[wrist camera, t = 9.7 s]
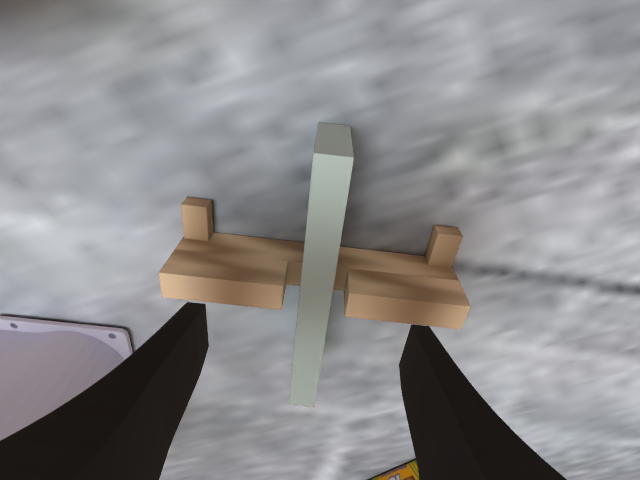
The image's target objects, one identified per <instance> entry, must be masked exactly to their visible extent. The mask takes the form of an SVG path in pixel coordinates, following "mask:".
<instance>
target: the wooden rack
mask: <svg viewBox="0 0 640 480" xmlns="http://www.w3.org/2000/svg"><path fill="white" fill-rule="evenodd" d="M181 208H182V219H183V229H184V237H183V238H182V240H181V241H180V243H179V244H178V246H177V247H176V249H175V250H174V251H173V253H172V254H171V256H170V257H169V259H168V260H167V261H166V263H165V264H164V266H163V267H162V269H161V270H160V271H159V278H160V285H161V292H162V297H167V298H176V299H185V300H195V301H204V302H213V303H223V304H232V305H241V306H250V307H260V308H269V309H278V310H281V309H282V304H283V298H284V293H285V288H286V284H289V285H298V286H300V285H301V275H302V265H303V255H304V245H305V243H303V242H294V241H285V240H276V239H267V238H258V237H249V236H240V235H231V234H222V233H213V216H212V200H210V199H201V198H192V197H187V198H186V199H185V200H184V202H183V203H182V204H181ZM462 237H463V236H462V234H461V233H460V231H459V229H458V228H456V227H448V226H439V225H434V227H433V230H432V233H431V237H430V240H429V243H428V246H427V250H426V253H425V256H419V255H410V254H401V253H392V252H383V251H375V250H366V249H357V248H348V247H340V249H339V255H338V261H337V268H336V274H335V280H334V286H333V289H335V290H344V304H345V317H353V318H362V319H371V320H381V321H390V322H399V323H409V324H418V325H427V326H437V327H446V328H455V329H462V326H463V324H464V322H465V319H466V317H467V314H468V312H469V310H470V307H471V306H470V304H469V302H468V300H467V297H466V295H465V293H464V291H463V289H462V287H461V284H460V282H459V280H458V278H457V276H456V274H455V272H454V269H453V267H452V265H453V262H454V259H455V256H456V253H457V251H458V248H459V245H460V242H461V240H462Z"/></svg>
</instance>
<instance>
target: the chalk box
mask: <svg viewBox="0 0 640 480" xmlns="http://www.w3.org/2000/svg"><path fill="white" fill-rule="evenodd" d="M370 480H419V473H418V467H417V461H416V460H414V461H412V462H410V463H408V464H405V465H403V466H401V467H398V468H396V469H394V470H392V471H389V472H387V473H385V474H382V475H380V476H378V477H375V478H373V479H370Z"/></svg>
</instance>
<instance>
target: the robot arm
mask: <svg viewBox="0 0 640 480" xmlns="http://www.w3.org/2000/svg"><path fill="white" fill-rule="evenodd" d="M208 346H209V344H208V332H207V319H206V306H205V304H200V303H190V302H187V303H186V304H185V305H184V306H183V307H182V308H181V309H180V310H179V311H178V312H177V313H176V314H175V315H174V316H173V317H172V318H171V319H170V320H169V321H168V322H166V323H165V324H164V325H163V326H162V327H161V328H160V329H159V330H158V331H157V332H156V333H155V334H154V335H153V336H152V337H150V338H149V339H148V340H147V341H146V342H145V343H144V344H143V345H142V346H141V347H139V348H138V349H137V350H136V351H135V352H134V353H133V352H132V347H131V343H130V338H129V334H128V332H127V331H126V330H124V329H121V328H113V327H103V326H94V325H84V324H75V323H65V322H56V321H46V320H37V319H27V318H18V317H8V316H0V480H159V478H160V475H161V472H162V469H163V466H164V462H165V459H166V456H167V453H168V450H169V447H170V445H171V442H172V440H173V437H174V435H175V432H176V430H177V428H178V425H179V423H180V421H181V418H182V416H183V414H184V411H185V409H186V407H187V404H188V402H189V400H190V397H191V395H192V393H193V390H194V388H195V386H196V383H197V381H198V378H199V376H200V374H201V370H202V367H203V364H204V360H205V357H206V353H207V350H208ZM399 368H400V380H401V390H402V396H403V401H404V406H405V410H406V415H407V420H408V424H409V429H410V433H411V438H412V443H413V447H414V452H415V456H416V461H417V467H418V473H419V480H567V479H565V478H564V477H563V476H562V475H561V474H559V473H558V472H557V471H556V470H555V469H554V468H552V467H551V466H550V465H549V464H548V463H547V462H545V461H544V460H543V459H542V458H541V457H540V456H539V455H538V454H537V453H536V452H534V451H533V450H532V449H531V448H530V447H529V446H528V445H527V444H526V443H525V442H524V441H523V440H522V439H521V438H520V437H518V436H517V435H516V434H515V433H514V432H513V431H512V430H511V429H510V427H509V426H508V425H507V424H506V423H505V422H504V421H503V420H502V419H501V418H500V417H499V416H498V415H497V414H496V413H495V412H494V411H493V410H492V408H491V407H490V406H489V405H488V404H487V403H486V402H485V400H484V399H483V398H482V397H481V396H480V394H479V393H478V392H477V391H476V390H475V388H474V387H473V386H472V385H471V383H470V382H469V381H468V380H467V378H466V377H465V376H464V374H463V373H462V372H461V370H460V369H459V368H458V366H457V365H456V364H455V362H454V361H453V360H452V358H451V357H450V355H449V354H448V353H447V351H446V350H445V348H444V347H443V346H442V344H441V343H440V341H439V340H438V338H437V337H436V336H435V334H434V333H433V331H432V330H431V328H430V327H429V326H421V325H411V328H410V331H409V334H408V338H407V341H406V344H405V347H404V351H403V354H402V357H401V360H400V363H399Z"/></svg>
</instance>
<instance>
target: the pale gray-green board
mask: <svg viewBox="0 0 640 480" xmlns="http://www.w3.org/2000/svg"><path fill="white" fill-rule="evenodd" d="M353 160H354V155H353V147H352V138H351V130H350V126H347V125H338V124H330V123H321V122H319V124H318V130H317V136H316V142H315V147H314V154H313V164H312V174H311V184H310V194H309V204H308V214H307V224H306V234H305V245H304V255H303V265H302V275H301V285H300V295H299V305H298V315H297V325H296V335H295V346H294V356H293V366H292V376H291V386H290V396H289V405H297V406H307V407H315V400H316V394H317V388H318V381H319V375H320V369H321V362H322V356H323V350H324V343H325V337H326V331H327V324H328V318H329V312H330V305H331V299H332V293H333V286H334V280H335V274H336V268H337V261H338V255H339V249H340V242H341V236H342V230H343V223H344V217H345V211H346V204H347V198H348V192H349V185H350V179H351V173H352V166H353Z"/></svg>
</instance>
